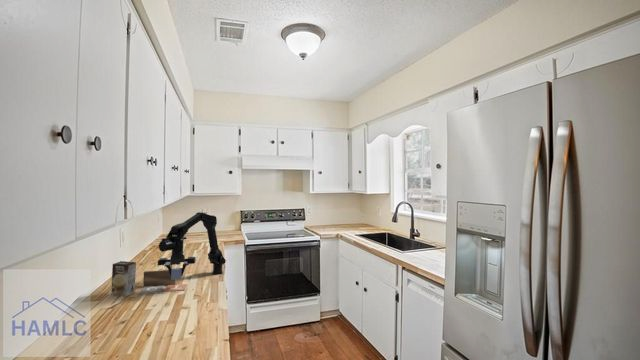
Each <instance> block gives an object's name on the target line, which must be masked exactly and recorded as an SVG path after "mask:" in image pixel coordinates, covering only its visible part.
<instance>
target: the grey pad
mask: <svg viewBox="0 0 640 360" xmlns="http://www.w3.org/2000/svg"><path fill="white" fill-rule="evenodd" d="M164 287H165V285H162V286H146V287H142V289H141V290H140V291H139V294H140V295H141V294H155V293H162V291H163V289H164Z"/></svg>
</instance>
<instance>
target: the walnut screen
mask: <svg viewBox="0 0 640 360" xmlns="http://www.w3.org/2000/svg"><path fill="white" fill-rule="evenodd" d="M142 283H143V285H142V286H143V287H142V288H144V286H146V287H149V286H168V285H176V280H171V275H170V273H169V270H168V269H165V270H145V271H144V272H143V280H142Z"/></svg>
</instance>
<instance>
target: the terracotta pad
mask: <svg viewBox="0 0 640 360" xmlns="http://www.w3.org/2000/svg"><path fill="white" fill-rule="evenodd" d="M166 286H167V287H166V288H165V289H164V292H165V293H169V292H181V291H182V292H183V291H184V292H185V290H186V289H187V286H188V284H187V283H184V284H183V283H182V284H180V283H179V284H175V285H166Z"/></svg>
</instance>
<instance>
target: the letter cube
mask: <svg viewBox="0 0 640 360" xmlns="http://www.w3.org/2000/svg"><path fill="white" fill-rule="evenodd" d="M182 268H183V267H174V268H173V267H172V270H171V280H175V281H177V280H182V279H183V276H182Z"/></svg>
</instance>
